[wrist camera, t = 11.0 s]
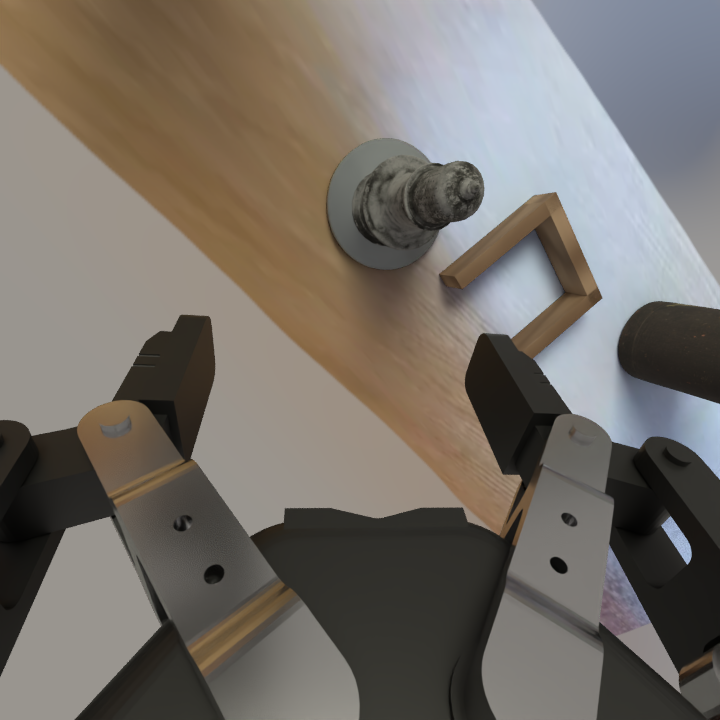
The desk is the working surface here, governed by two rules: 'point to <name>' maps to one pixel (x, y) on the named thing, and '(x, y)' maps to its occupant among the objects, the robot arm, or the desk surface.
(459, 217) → the stone finial
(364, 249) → the grey oval disc
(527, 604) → the robot arm
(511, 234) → the wooden arch
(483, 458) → the desk surface
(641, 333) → the container
